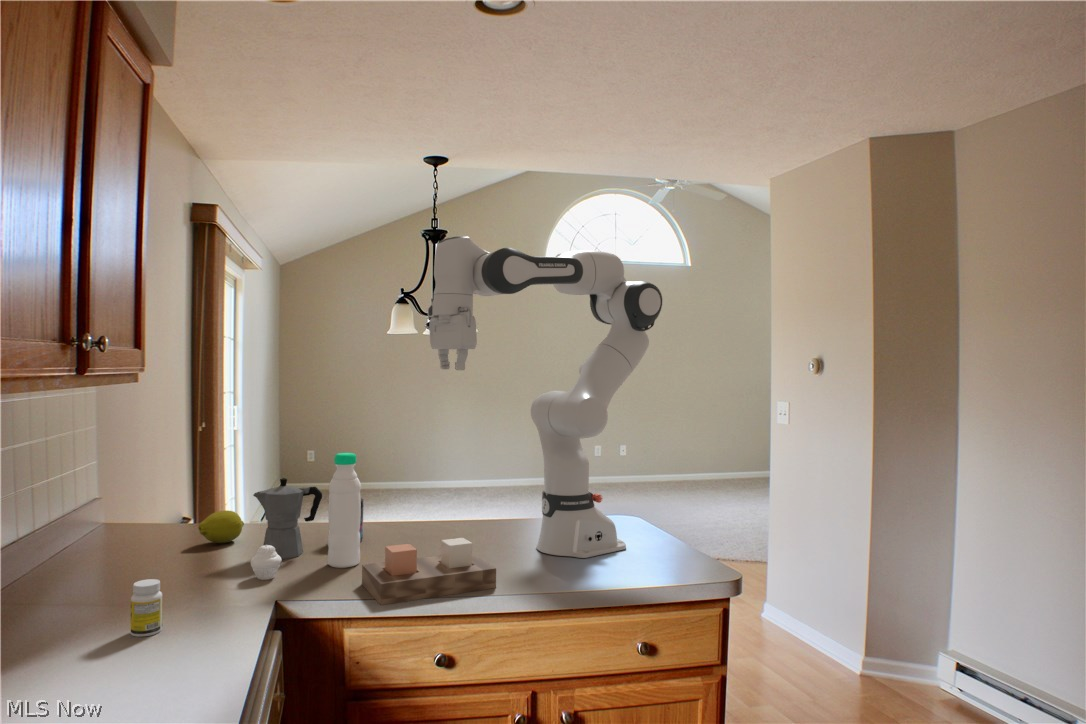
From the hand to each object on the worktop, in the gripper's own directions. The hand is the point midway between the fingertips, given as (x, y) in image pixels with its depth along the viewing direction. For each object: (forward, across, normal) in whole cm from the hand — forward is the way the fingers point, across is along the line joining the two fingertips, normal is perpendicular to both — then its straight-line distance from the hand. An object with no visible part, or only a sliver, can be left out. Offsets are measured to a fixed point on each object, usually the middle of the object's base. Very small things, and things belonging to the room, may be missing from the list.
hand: (452, 369), depth 163 cm
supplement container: (+44, +32, +15) cm, 57 cm away
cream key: (+41, -11, +3) cm, 42 cm away
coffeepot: (+45, +26, +31) cm, 60 cm away
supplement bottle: (+45, -15, +60) cm, 76 cm away
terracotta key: (+41, -11, +15) cm, 45 cm away
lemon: (+45, +42, +44) cm, 76 cm away
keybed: (+44, -11, +9) cm, 47 cm away
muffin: (+44, +8, +38) cm, 59 cm away
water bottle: (+44, +12, +21) cm, 50 cm away
